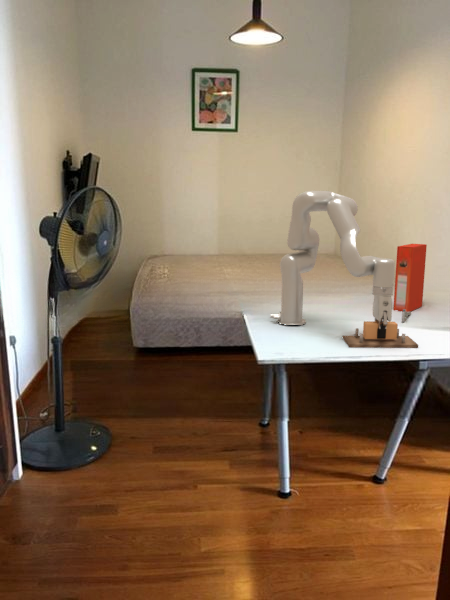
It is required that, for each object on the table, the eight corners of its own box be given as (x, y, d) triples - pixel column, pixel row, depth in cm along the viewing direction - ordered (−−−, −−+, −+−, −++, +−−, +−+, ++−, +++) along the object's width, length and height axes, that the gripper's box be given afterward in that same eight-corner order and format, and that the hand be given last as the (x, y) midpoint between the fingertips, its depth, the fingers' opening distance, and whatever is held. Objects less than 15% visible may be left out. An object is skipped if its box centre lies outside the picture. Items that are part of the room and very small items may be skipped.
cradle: (349, 347, 191) (349, 335, 190) (342, 338, 203) (343, 327, 202) (418, 347, 190) (419, 335, 189) (407, 338, 202) (408, 327, 201)
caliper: (403, 323, 227) (404, 310, 225) (401, 323, 227) (402, 309, 226) (411, 314, 244) (412, 301, 243) (409, 313, 244) (410, 301, 243)
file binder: (392, 310, 251) (397, 246, 244) (406, 304, 264) (411, 243, 257) (408, 312, 246) (413, 247, 239) (422, 306, 258) (427, 244, 251)
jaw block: (396, 339, 194) (397, 324, 193) (365, 339, 194) (366, 324, 193) (393, 336, 198) (394, 321, 197) (362, 336, 198) (363, 321, 197)
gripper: (399, 295, 184) (395, 343, 188) (386, 286, 200) (383, 331, 204) (378, 295, 184) (375, 343, 188) (367, 286, 200) (364, 330, 204)
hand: (379, 336), depth 196 cm, fingers closed on jaw block, 3 cm apart
